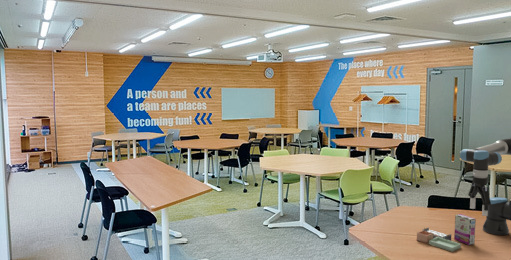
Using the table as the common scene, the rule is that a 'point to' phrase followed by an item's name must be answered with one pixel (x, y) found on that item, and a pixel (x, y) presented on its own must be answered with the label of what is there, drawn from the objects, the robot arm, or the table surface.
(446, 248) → the pale green shallow tray
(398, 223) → the table surface
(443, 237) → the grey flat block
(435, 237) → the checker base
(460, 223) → the candy bar box
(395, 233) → the table surface
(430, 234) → the terracotta square pot
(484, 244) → the table surface
